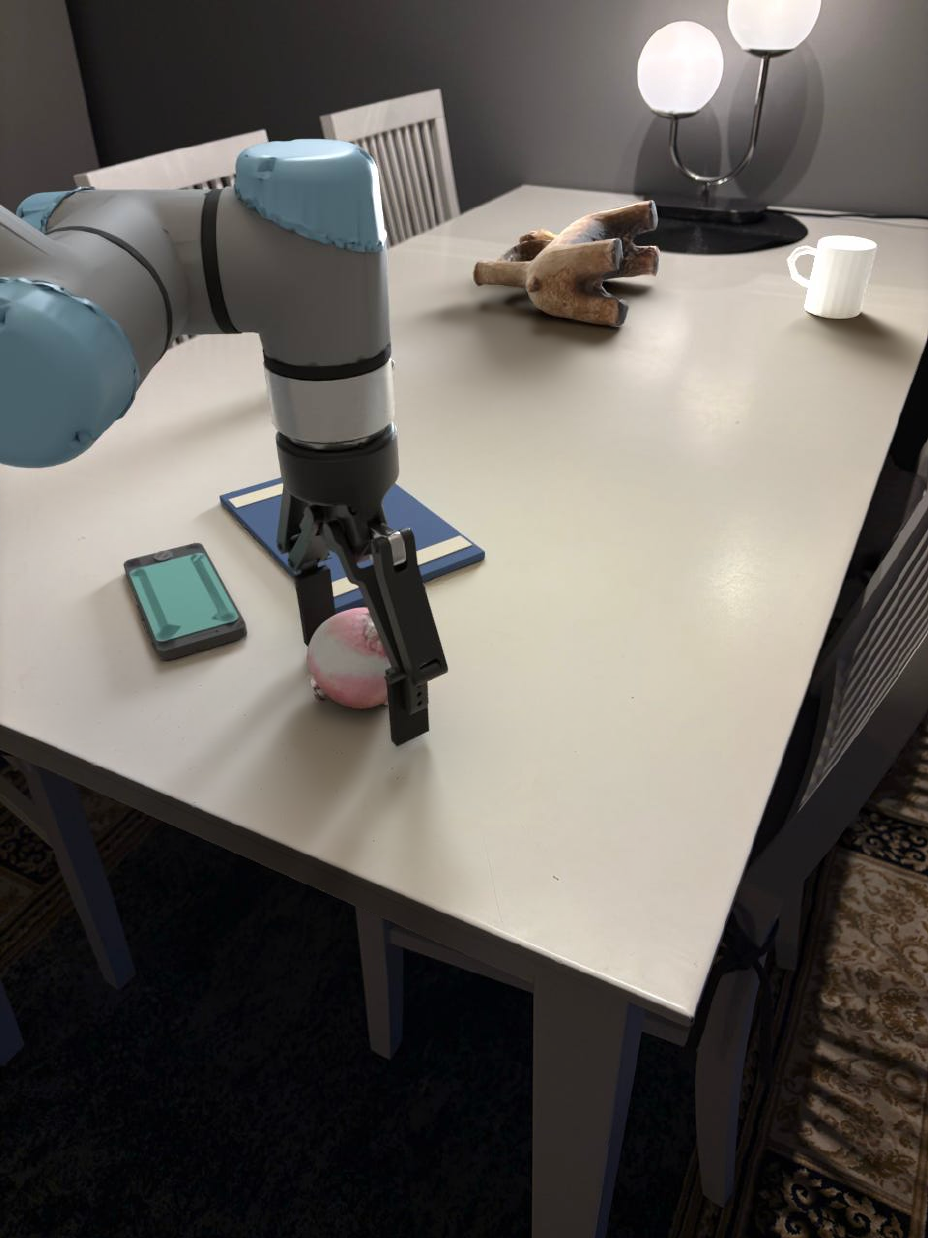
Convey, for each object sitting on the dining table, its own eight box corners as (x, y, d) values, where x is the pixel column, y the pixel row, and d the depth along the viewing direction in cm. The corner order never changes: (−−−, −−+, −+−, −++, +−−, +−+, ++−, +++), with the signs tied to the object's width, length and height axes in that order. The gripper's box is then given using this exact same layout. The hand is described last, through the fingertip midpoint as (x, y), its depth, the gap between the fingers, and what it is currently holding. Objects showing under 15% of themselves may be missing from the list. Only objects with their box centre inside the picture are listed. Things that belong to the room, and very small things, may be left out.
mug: (778, 297, 144) (791, 232, 138) (858, 304, 141) (875, 237, 135) (777, 314, 138) (791, 246, 132) (861, 321, 135) (879, 252, 129)
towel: (220, 502, 93) (218, 494, 92) (357, 460, 100) (357, 453, 99) (331, 618, 77) (330, 609, 76) (485, 558, 84) (485, 550, 83)
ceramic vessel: (665, 181, 144) (516, 190, 154) (619, 249, 123) (449, 255, 132) (666, 263, 152) (524, 267, 162) (623, 340, 131) (463, 340, 140)
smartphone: (200, 539, 85) (247, 624, 74) (202, 550, 85) (249, 636, 75) (119, 559, 82) (155, 651, 71) (122, 571, 83) (158, 663, 72)
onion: (385, 738, 65) (379, 661, 61) (290, 712, 67) (278, 636, 63) (428, 671, 71) (425, 596, 67) (340, 649, 73) (332, 575, 69)
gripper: (505, 486, 50) (500, 761, 62) (300, 351, 66) (329, 590, 79) (386, 528, 46) (407, 809, 59) (201, 375, 63) (249, 620, 75)
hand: (362, 684), depth 69 cm, fingers open, 13 cm apart
